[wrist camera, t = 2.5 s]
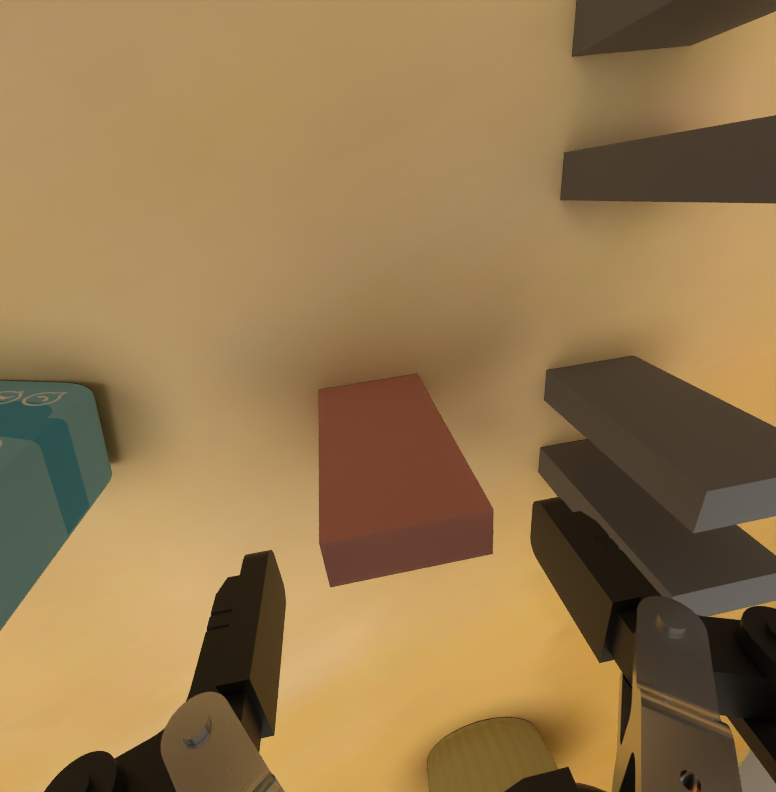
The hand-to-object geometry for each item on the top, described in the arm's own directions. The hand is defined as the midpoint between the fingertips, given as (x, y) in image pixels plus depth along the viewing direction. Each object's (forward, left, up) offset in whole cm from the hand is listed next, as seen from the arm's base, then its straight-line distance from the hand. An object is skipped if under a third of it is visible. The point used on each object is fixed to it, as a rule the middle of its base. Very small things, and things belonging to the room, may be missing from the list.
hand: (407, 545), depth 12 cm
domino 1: (0, 0, -10) cm, 10 cm away
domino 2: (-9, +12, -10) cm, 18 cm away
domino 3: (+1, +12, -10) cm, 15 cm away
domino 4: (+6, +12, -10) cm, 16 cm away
